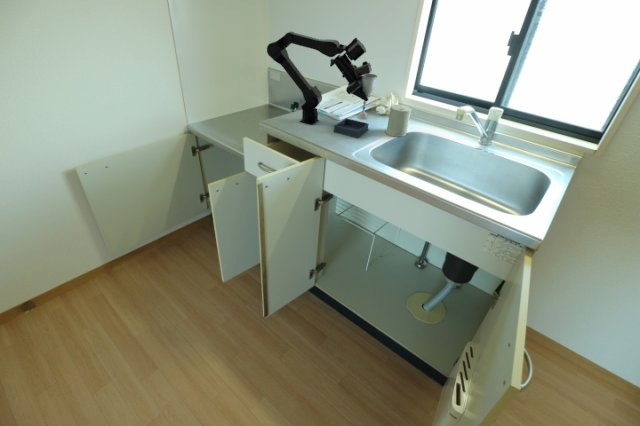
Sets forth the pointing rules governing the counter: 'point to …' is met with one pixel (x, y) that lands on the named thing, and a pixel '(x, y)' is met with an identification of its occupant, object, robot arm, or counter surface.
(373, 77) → the chalice
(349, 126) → the bin
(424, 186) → the counter surface
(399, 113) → the can
